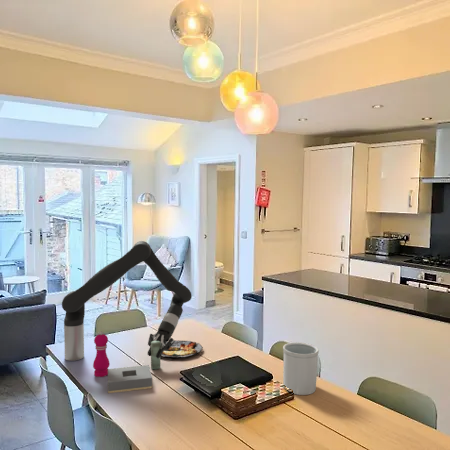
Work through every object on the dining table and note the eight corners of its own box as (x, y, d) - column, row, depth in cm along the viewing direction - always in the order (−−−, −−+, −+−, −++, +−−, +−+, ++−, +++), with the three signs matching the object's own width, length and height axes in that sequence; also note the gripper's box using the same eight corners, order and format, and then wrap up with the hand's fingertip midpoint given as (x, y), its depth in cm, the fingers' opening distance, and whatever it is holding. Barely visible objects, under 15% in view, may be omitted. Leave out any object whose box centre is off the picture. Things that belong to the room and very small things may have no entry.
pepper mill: (104, 378, 187) (104, 334, 186) (90, 376, 188) (89, 333, 187) (112, 371, 194) (112, 329, 193) (98, 370, 195) (97, 328, 194)
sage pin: (150, 365, 200) (150, 341, 199) (159, 364, 201) (159, 340, 200) (151, 369, 195) (151, 344, 194) (161, 368, 196) (161, 343, 196)
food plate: (205, 344, 230) (205, 338, 230) (198, 361, 207) (198, 354, 207) (160, 343, 233) (160, 337, 232) (149, 360, 210) (149, 353, 209)
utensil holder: (295, 377, 190) (296, 339, 188) (324, 388, 179) (325, 348, 178) (275, 387, 179) (275, 347, 178) (304, 399, 169) (305, 357, 168)
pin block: (107, 379, 186) (107, 369, 186) (148, 374, 191) (148, 364, 191) (108, 393, 173) (107, 382, 172) (152, 388, 178) (152, 377, 177)
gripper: (153, 318, 207) (137, 349, 197) (177, 322, 200) (161, 355, 190) (160, 325, 212) (144, 357, 202) (183, 330, 205) (168, 363, 195)
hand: (153, 356), depth 196 cm, fingers closed on sage pin, 4 cm apart
